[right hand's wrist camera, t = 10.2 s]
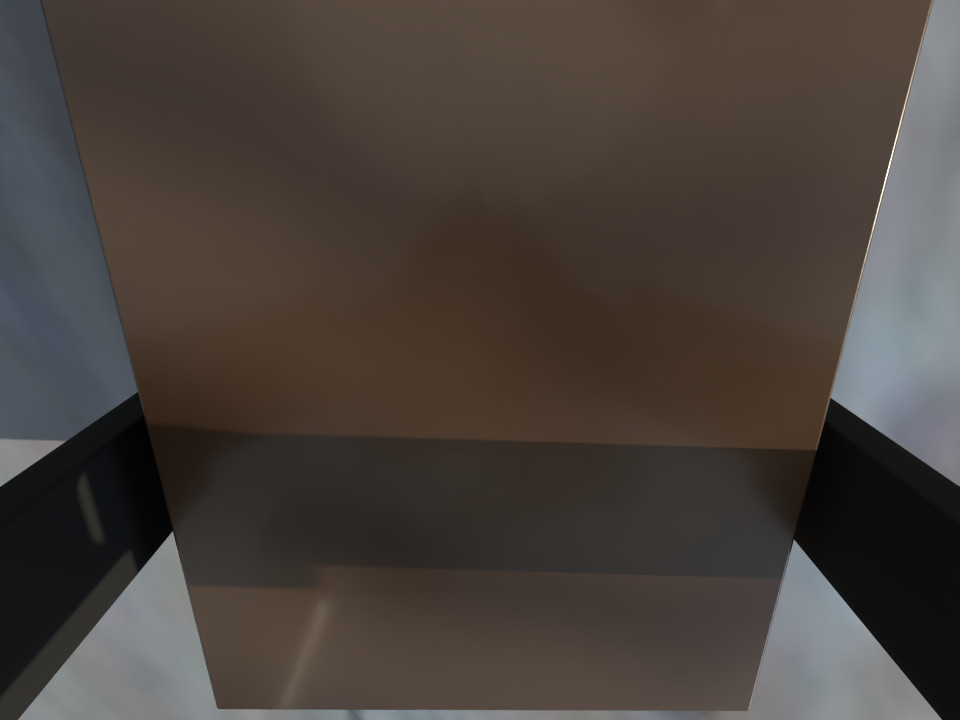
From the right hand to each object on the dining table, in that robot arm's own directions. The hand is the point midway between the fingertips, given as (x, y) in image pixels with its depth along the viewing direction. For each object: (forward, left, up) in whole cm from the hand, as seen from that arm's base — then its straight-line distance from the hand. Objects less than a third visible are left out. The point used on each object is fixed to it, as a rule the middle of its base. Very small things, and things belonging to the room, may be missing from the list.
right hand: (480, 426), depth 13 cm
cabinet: (+4, +5, -7) cm, 9 cm away
